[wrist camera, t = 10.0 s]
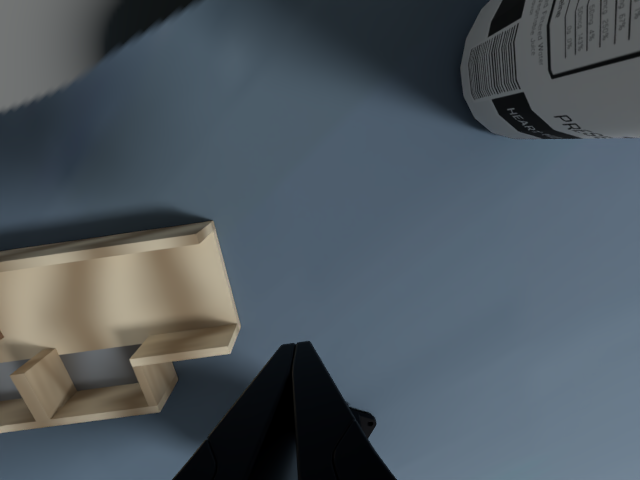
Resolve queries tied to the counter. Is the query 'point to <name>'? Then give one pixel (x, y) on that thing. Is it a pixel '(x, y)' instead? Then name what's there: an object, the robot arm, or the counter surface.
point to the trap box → (108, 323)
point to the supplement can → (555, 68)
